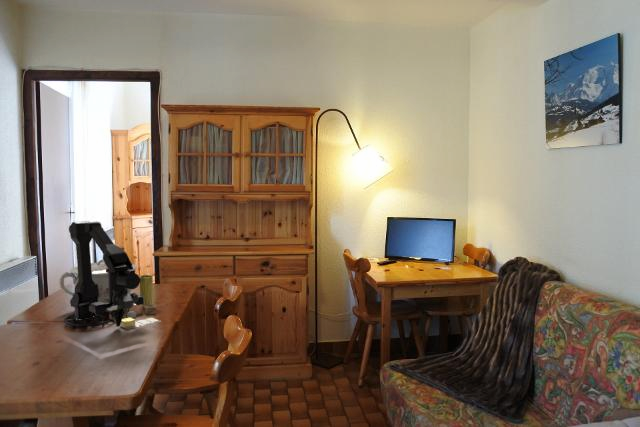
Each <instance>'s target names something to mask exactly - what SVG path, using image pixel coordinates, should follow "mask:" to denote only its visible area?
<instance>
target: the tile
mask: <svg viewBox="0 0 640 427" xmlns="http://www.w3.org/2000/svg"><path fill="white" fill-rule="evenodd" d="M135 321H136V319H135V318H127V317H125V318H124V319H122V321H121V324H120V326H121V328H122V329H126V328H130V327H134V326H135ZM120 326H119V327H120ZM126 330H127V329H126Z"/></svg>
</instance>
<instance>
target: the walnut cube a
mask: <svg viewBox="0 0 640 427" xmlns="http://www.w3.org/2000/svg"><path fill="white" fill-rule="evenodd" d="M108 313H109V312H108ZM125 313H126V312H125ZM125 313H124V315H123V318H122V319H126V314H125ZM108 315H109V320H111V321H113V318H112V317H111V315H110V313H109V314H108Z"/></svg>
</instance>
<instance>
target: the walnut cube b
mask: <svg viewBox="0 0 640 427" xmlns="http://www.w3.org/2000/svg"><path fill="white" fill-rule="evenodd" d="M156 308H157V307H156V306H155V304H154V305H147V306H144V307H143V313H144V315H145V316H146V315H155V314H156V313H157V310H156Z"/></svg>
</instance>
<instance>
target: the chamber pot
mask: <svg viewBox="0 0 640 427" xmlns="http://www.w3.org/2000/svg"><path fill="white" fill-rule="evenodd" d="M125 266H126V265H125ZM121 267H123V266H121ZM132 267H133V269H132V270H135V271H136V270H137V269H138V266H137V264H134V263H132ZM116 268H117V267H116ZM106 269H108V267H107V266H106V265H105V262H104V260H103V259H100V260H98V261H97V262H91V270H92V280H93V281H94V282H95V284H98V291H99V296H98V302H102V303H109V302H108V301H107V299H108V298H109V291H107V288H108V287H109V281H108V272H105V270H106ZM69 277H70V278H72V283H73V287H74V290H75V286H76V285H77V283H78V267H77V266H75V267H73V268H71V269H70V271H66V272H63V274H62V275H61V276H60V278H59V286H60V289H62V291H64V292H65V293H66V294H68V295H70V296H71V297H73V295H74V294H75V291H71V290H69V289H68V288H66V285H65V279H66V278H69ZM127 292H128V294H132V293H134V289H128V288H127ZM113 305H114V304H113Z"/></svg>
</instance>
